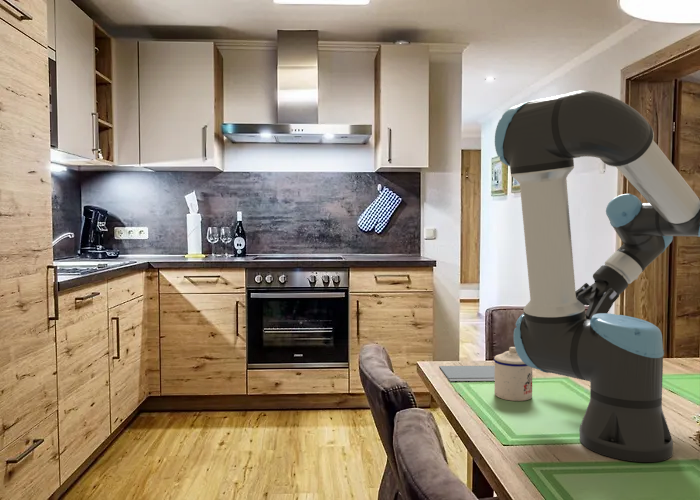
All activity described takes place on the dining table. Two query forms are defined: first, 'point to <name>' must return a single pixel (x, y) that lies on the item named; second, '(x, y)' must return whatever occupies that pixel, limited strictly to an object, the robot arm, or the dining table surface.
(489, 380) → the black line strip
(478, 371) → the slate mat
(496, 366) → the teacup with lid
